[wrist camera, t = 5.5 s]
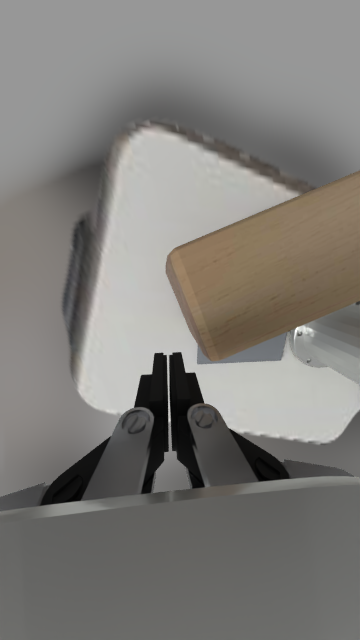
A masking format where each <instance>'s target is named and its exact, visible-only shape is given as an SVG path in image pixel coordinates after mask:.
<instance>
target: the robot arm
mask: <svg viewBox="0 0 360 640" xmlns="http://www.w3.org/2000/svg"><path fill="white" fill-rule="evenodd" d="M290 345H291V349H292V352H293V353H294V355H295V356H296V358H298V359H299V360H300V361H301V362H303V363H304V364H306V365H308V366H311V367H317V368H321V367H330V368H332V369H333V370H335V371H337V372H338V373H340V374H342V375H344V376H345V377H347V378H349V379H350V380H352V381H354V382H355V383H357V384H359V385H360V301H358V302H356V303H354V304H351V305H349V306H347V307H344V308H342V309H340V310H337V311H335V312H332V313H330V314H328V315H325V316H323V317H321V318H318V319H316V320H314V321H311V322H309V323H307V324H304V325H302V326H300V327H297V328H295V329H293V330H291V333H290ZM169 372H170V412H171V435H172V451H177V459H178V460H179V461H180V462H181V463H182V464H183V465H184V466H185V467H186V474H187V478H188V482H189V487H190V489H186V490H176V491H167V492H158V493H153V491H154V485H155V479H156V470H157V469H158V468H159V466H160V465H161V464H162V463H163V461H164V452H168V451H169V450H168V448H169V447H168V446H169V445H168V384H167V355H163V353H155V354H154V363H153V372H152V375H141V378H140V382H139V387H138V392H137V396H136V401H135V406H134V408H132V409H130V410H128V411H126V412H125V413H124V414H123V415H122V416H121V418H120V419H119V421H118V423H117V425H116V427H115V429H114V432H113V434H112V436H110V437H109V438H108V439H106V440H105V441H104V442H103V443H101V444H100V445H99V446H97V447H96V448H95V449H93V450H92V451H91V452H90V453H88V454H87V455H86V456H84V457H83V458H82V459H81V460H79V461H78V462H77V463H75V464H74V465H73V466H71V467H70V468H69V469H68V470H66V471H65V472H64V473H62V474H61V475H60V476H59V477H58V478H57V479H56V480H55V481H53V483H52V484H49V485H46V483H45V482H44V483H41V484H38V485H35V486H32V487H29V488H26V489H23V490H20V491H17V492H14V493H10V494H8V495H5V496H1V497H0V640H360V478H359V477H354V476H353V475H351V474H350V473H348V472H346V471H344V470H342V469H339V468H335V467H330V466H323V465H317V464H311V463H305V462H299V461H292V460H286V459H284V462H280V461H278V460H277V459H276V458H275V457H274V456H272V455H271V454H269V453H268V452H266V451H265V450H263V449H261V448H260V447H258V446H257V445H254V444H253V443H252V442H250V441H249V440H247V439H245V438H244V437H242V436H241V435H239V434H237V433H236V432H234V431H233V430H231V429H229V428H228V427H227V425H226V423H225V421H224V420H223V418H222V416H221V414H220V413H219V411H218V410H217V409H216V408H215V407H213V406H211V405H209V404H204V401H203V397H202V394H201V391H200V387H199V384H198V380H197V377H196V374H195V373H185V368H184V363H183V358H182V353H181V352H176V353H173V355H169Z"/></svg>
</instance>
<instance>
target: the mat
mask: <svg viewBox="0 0 360 640" xmlns="http://www.w3.org/2000/svg"><path fill="white" fill-rule="evenodd" d="M286 335H287V332H286V333H283V334H281V335H279V336H276V337H274V338H271V339H269V340H267V341H264V342H262V343H260V344H257V345H255V346H253V347H250V348H248V349H246V350H243V351H241V352H239V353H236V354H234V355H232V356H229V357H227V358H225V359H222V360H220V361H210V360H209V359H208V358H207V357H206V356H204V354H203V353H202V351H201V349H200V347H199V346H198V353H197V364H214V363H235V362H257V361H279V360H281V358H282V353H283V349H284V344H285V340H286Z"/></svg>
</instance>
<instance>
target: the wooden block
mask: <svg viewBox="0 0 360 640" xmlns="http://www.w3.org/2000/svg"><path fill="white" fill-rule="evenodd" d="M166 274H167V276H168V279H169V281H170V284H171V286H172V289H173V291H174V293H175V296H176V298H177V301H178V303H179V305H180V308H181V310H182V313H183V315H184V318H185V320H186V322H187V325H188V327H189V330H190V332H191V333H192V335H193V337H194V339H195V340H196V342H197V344H198V346H199V347H200V349H201V351H202V353H203V354H204V356H206V357H207V358H208V359H209V360H210V361H220V360H222V359H225V358H227V357H229V356H232V355H234V354H236V353H239V352H241V351H243V350H246V349H248V348H250V347H253V346H255V345H257V344H260V343H262V342H264V341H267V340H269V339H271V338H274V337H276V336H279V335H281V334H283V333H286V332H288V331H290V330H293V329H295V328H297V327H300V326H302V325H304V324H307V323H309V322H311V321H314V320H316V319H318V318H321V317H323V316H325V315H328V314H330V313H332V312H335V311H337V310H340V309H342V308H344V307H347V306H349V305H351V304H354V303H356V302H358V301H360V171H358V172H355V173H353V174H350V175H348V176H345V177H343V178H341V179H338V180H336V181H334V182H331V183H329V184H326V185H324V186H322V187H319V188H317V189H314V190H312V191H310V192H307V193H305V194H302V195H300V196H298V197H295V198H293V199H291V200H288V201H286V202H283V203H281V204H279V205H276V206H274V207H271V208H269V209H267V210H264V211H262V212H260V213H257V214H255V215H252V216H250V217H248V218H245V219H243V220H240V221H238V222H236V223H233V224H231V225H229V226H226V227H224V228H221V229H219V230H217V231H214V232H212V233H209V234H207V235H205V236H202V237H200V238H198V239H195V240H193V241H190V242H188V243H186V244H183V245H181V246H178V247H176V248H174V249H173V250H172V252H171V253H170V254H169V255H168V256H167V262H166Z"/></svg>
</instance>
